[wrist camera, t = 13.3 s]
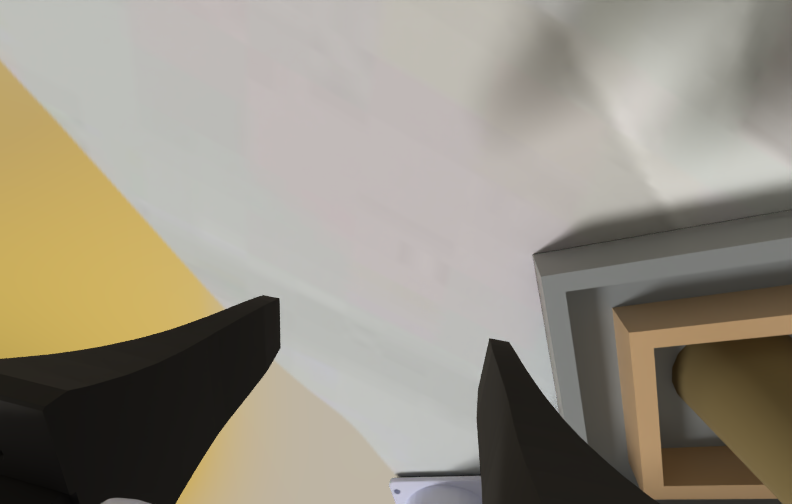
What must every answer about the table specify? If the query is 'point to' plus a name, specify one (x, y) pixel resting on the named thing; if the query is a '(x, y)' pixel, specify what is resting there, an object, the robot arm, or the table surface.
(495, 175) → the table surface
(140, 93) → the table surface
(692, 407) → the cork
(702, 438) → the tray
